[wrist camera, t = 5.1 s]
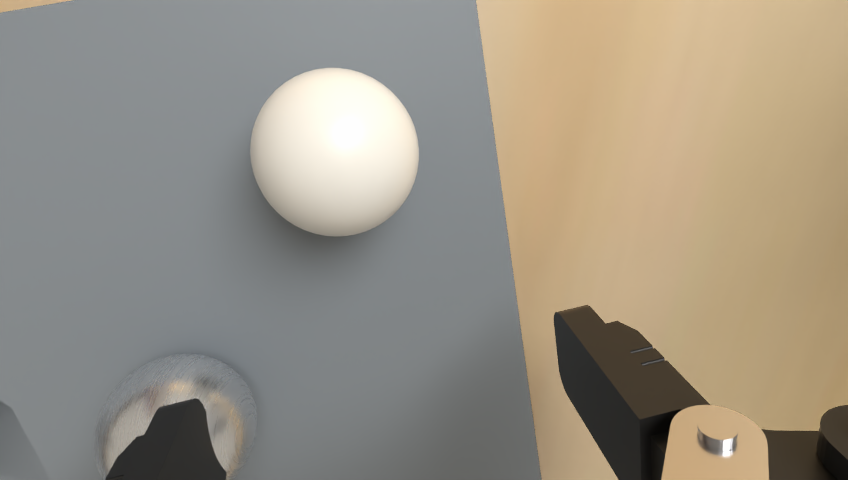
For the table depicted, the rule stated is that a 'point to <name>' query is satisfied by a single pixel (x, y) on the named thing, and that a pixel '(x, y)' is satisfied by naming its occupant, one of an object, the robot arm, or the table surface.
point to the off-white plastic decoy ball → (334, 152)
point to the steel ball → (172, 384)
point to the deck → (253, 240)
